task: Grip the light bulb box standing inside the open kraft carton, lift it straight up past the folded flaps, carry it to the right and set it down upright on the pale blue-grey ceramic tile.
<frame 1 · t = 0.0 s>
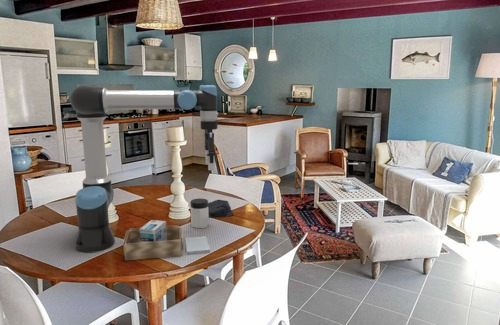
hand: (209, 166, 177), 28 cm above the table, tool pointing down, fingers open, 13 cm apart
tile: (197, 246, 159), on the table
carton: (154, 249, 155), on the table
light bulb box: (154, 250, 155), resting in carton
jar: (199, 225, 182), on the table
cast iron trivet: (217, 211, 204), on the table
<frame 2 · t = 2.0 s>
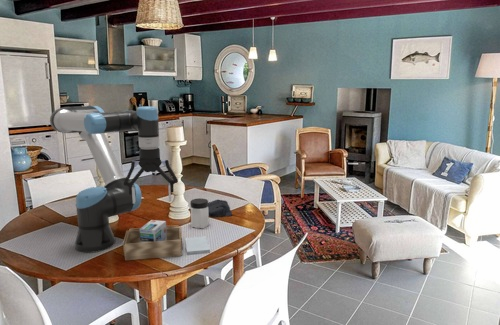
hand: (152, 201, 151), 20 cm above the table, tool pointing down, fingers open, 13 cm apart
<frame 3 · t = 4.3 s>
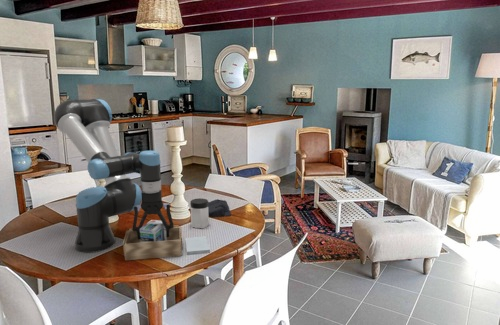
hand: (154, 245, 155), 2 cm above the table, tool pointing down, fingers closed on light bulb box, 8 cm apart
light bulb box: (154, 250, 155), resting in carton, touching gripper
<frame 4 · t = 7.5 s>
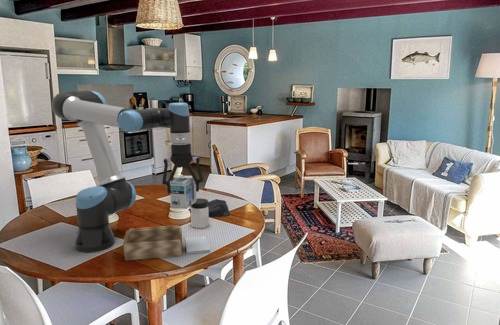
hand: (184, 200, 153), 20 cm above the table, tool pointing down, fingers closed on light bulb box, 8 cm apart
light bulb box: (184, 205, 153), point 18 cm above the table, touching gripper
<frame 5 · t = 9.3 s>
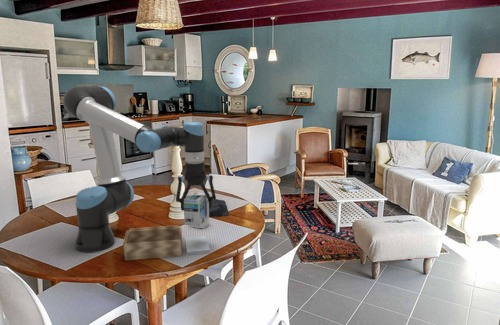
hand: (196, 217, 156), 13 cm above the table, tool pointing down, fingers closed on light bulb box, 8 cm apart
light bulb box: (196, 221, 156), point 11 cm above the table, touching gripper
when the fingers open (4 cm above the table, at t = 11.2 s): light bulb box stays where it is, resting on tile.
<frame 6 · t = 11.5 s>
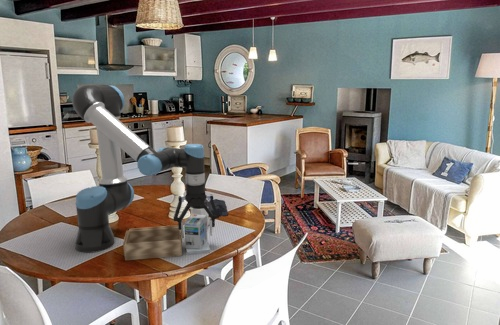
hand: (197, 235, 158), 5 cm above the table, tool pointing down, fingers open, 11 cm apart
light bulb box: (196, 244, 158), point 1 cm above the table, touching tile
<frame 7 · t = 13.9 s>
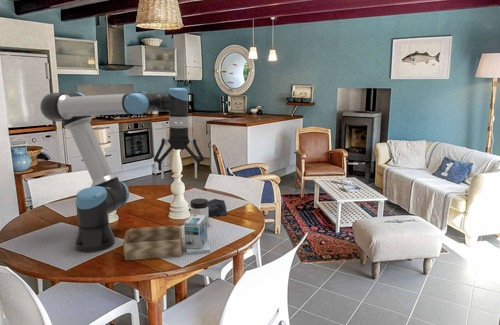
hand: (179, 178, 161), 27 cm above the table, tool pointing down, fingers open, 13 cm apart
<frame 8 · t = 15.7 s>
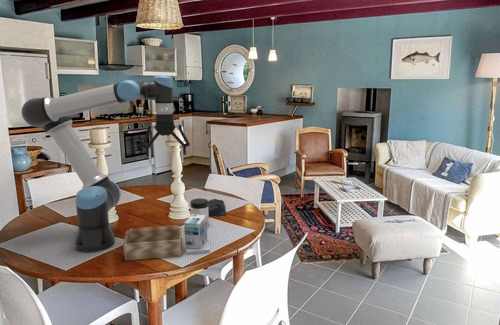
hand: (166, 162, 167), 32 cm above the table, tool pointing down, fingers open, 13 cm apart
at the end: light bulb box inside the target area on the tile (0.2 cm from its centre), point 1.0 cm above the tile's base; light bulb box tilted 0°; the gripper is holding nothing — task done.
